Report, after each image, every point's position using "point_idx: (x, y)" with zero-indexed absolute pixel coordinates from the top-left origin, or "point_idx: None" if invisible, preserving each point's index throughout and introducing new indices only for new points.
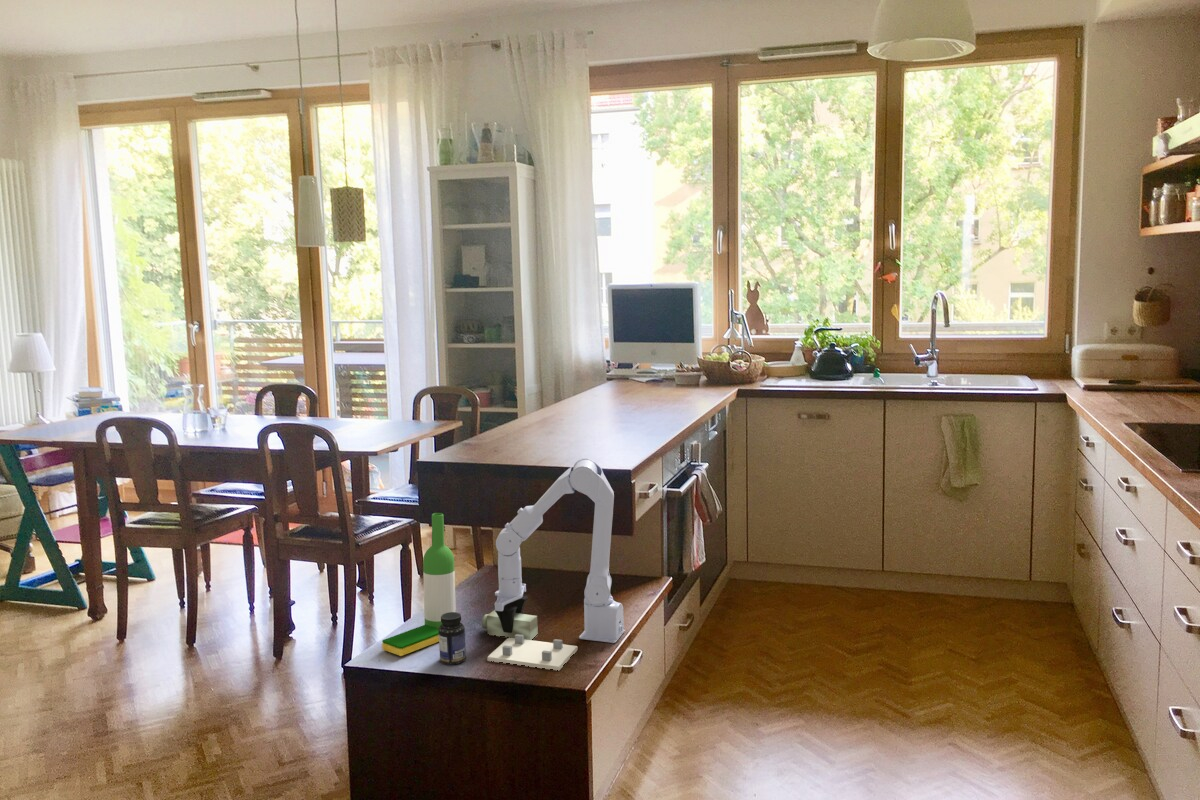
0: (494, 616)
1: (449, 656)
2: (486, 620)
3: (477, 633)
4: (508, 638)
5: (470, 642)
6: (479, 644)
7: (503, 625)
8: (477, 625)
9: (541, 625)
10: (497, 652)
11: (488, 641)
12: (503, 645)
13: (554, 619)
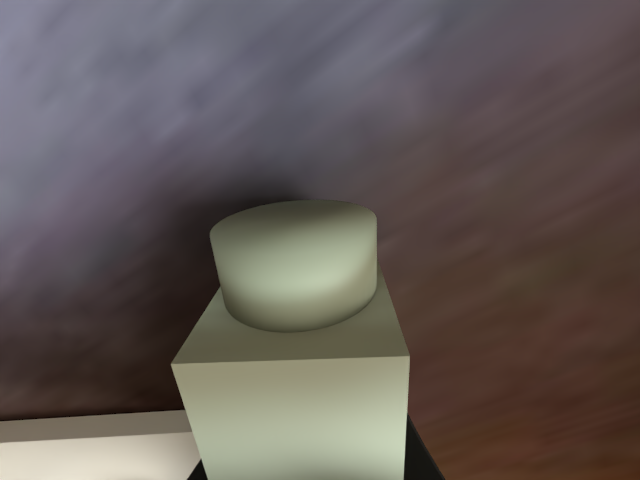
0: (200, 448)
1: None
2: (223, 292)
3: (222, 160)
4: None
5: (54, 209)
6: (76, 284)
7: None
8: (383, 43)
9: (511, 453)
10: (12, 462)
11: (152, 311)
12: (104, 451)
13: (619, 473)
